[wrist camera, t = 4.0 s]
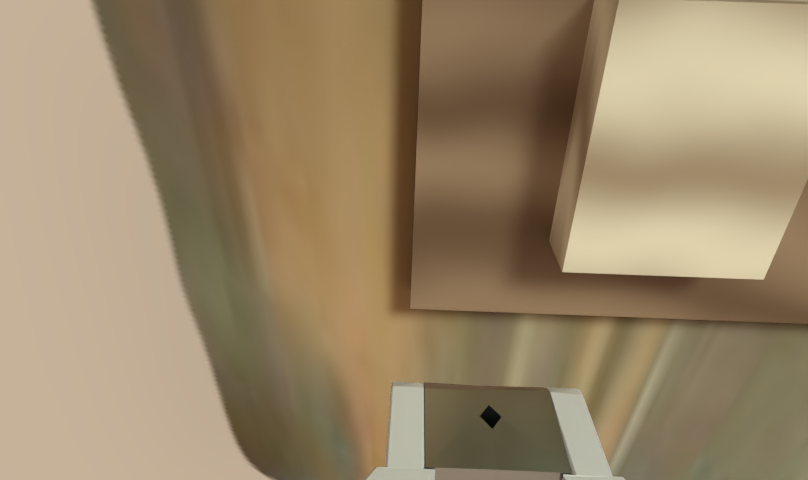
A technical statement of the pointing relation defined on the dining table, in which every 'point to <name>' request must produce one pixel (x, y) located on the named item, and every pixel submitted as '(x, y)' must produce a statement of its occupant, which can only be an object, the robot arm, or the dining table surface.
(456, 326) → the dining table surface
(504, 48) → the board
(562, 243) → the birch plate
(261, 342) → the dining table surface
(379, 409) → the dining table surface
